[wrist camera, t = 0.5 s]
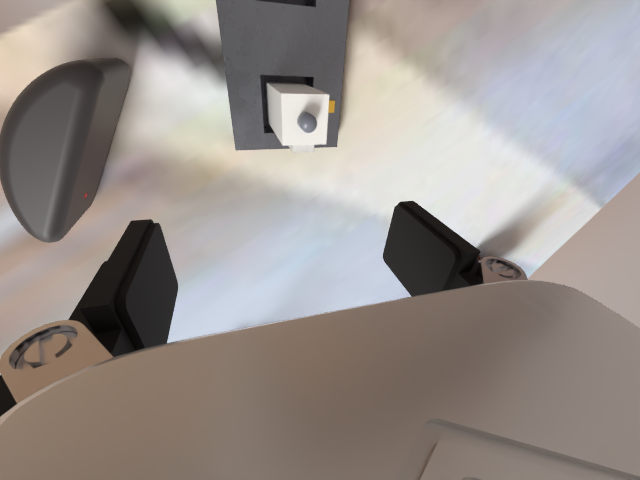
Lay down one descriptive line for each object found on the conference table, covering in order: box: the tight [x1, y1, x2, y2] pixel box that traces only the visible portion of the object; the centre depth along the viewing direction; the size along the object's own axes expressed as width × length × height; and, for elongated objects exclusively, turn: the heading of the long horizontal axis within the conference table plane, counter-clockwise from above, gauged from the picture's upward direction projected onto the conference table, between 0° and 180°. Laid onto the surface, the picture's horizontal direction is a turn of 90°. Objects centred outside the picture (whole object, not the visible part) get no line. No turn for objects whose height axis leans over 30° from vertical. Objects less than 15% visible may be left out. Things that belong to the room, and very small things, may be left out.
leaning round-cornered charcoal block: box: [0, 58, 130, 243], centre depth 23 cm, size 16×5×9 cm, turn 145°
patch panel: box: [216, 0, 349, 150], centre depth 26 cm, size 20×12×3 cm, turn 177°
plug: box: [266, 82, 329, 153], centre depth 26 cm, size 5×4×11 cm
